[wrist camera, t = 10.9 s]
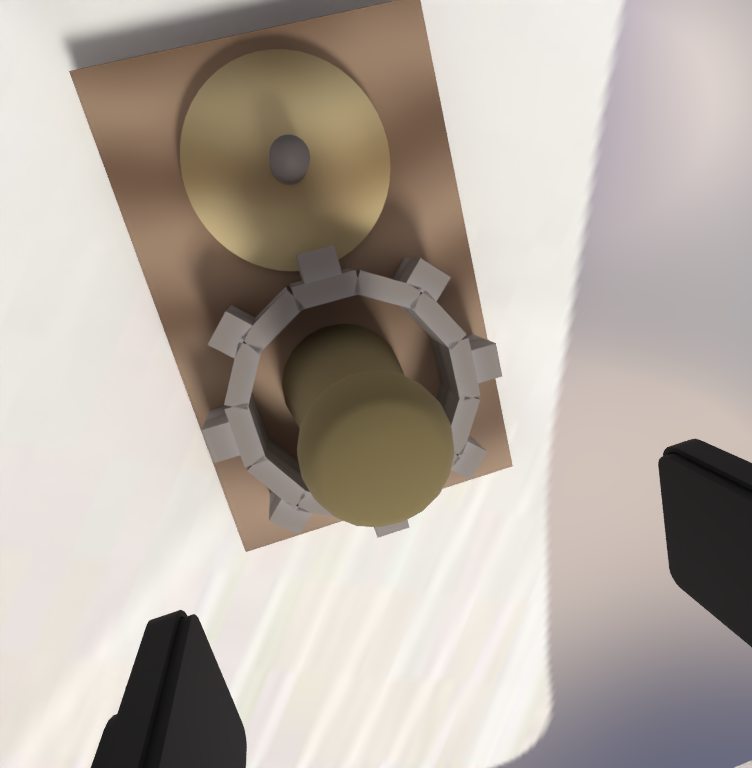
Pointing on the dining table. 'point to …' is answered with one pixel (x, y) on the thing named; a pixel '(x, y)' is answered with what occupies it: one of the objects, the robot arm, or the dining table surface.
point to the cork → (365, 428)
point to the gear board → (297, 234)
